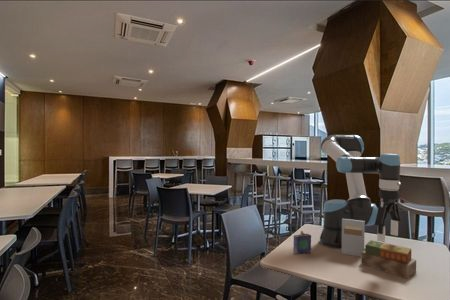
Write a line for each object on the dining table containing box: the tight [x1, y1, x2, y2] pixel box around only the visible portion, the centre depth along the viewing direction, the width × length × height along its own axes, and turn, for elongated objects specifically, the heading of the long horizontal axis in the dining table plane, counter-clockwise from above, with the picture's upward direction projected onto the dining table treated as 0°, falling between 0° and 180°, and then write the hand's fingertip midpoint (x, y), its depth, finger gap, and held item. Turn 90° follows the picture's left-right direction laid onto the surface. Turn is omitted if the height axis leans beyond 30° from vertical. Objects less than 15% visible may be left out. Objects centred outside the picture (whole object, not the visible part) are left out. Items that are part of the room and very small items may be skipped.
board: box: [340, 219, 366, 258], centre depth 133 cm, size 5×10×16 cm, turn 64°
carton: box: [364, 239, 412, 263], centre depth 118 cm, size 8×16×4 cm, turn 47°
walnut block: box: [360, 250, 417, 279], centre depth 118 cm, size 18×10×5 cm, turn 38°
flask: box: [292, 230, 312, 256], centre depth 133 cm, size 9×3×11 cm, turn 105°
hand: (387, 238), depth 118 cm, fingers open, 13 cm apart
